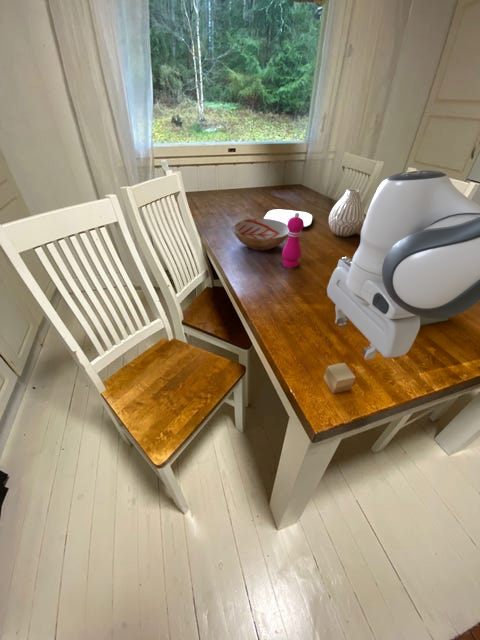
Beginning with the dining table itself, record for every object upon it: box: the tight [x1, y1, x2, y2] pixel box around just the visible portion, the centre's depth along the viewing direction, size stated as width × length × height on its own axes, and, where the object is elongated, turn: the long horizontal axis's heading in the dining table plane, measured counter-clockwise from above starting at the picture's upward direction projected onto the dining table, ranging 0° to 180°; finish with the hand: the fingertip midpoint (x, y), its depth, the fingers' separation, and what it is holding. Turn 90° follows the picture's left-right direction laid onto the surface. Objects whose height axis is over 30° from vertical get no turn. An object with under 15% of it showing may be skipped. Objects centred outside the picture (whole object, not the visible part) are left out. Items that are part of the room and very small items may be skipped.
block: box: [323, 362, 356, 395], centre depth 61 cm, size 4×4×4 cm
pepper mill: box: [281, 213, 305, 268], centre depth 103 cm, size 7×7×20 cm
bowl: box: [232, 217, 289, 252], centre depth 120 cm, size 25×25×8 cm
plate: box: [263, 209, 313, 228], centre depth 148 cm, size 25×25×2 cm
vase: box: [328, 188, 365, 238], centre depth 128 cm, size 16×16×20 cm
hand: (352, 339), depth 54 cm, fingers open, 8 cm apart
